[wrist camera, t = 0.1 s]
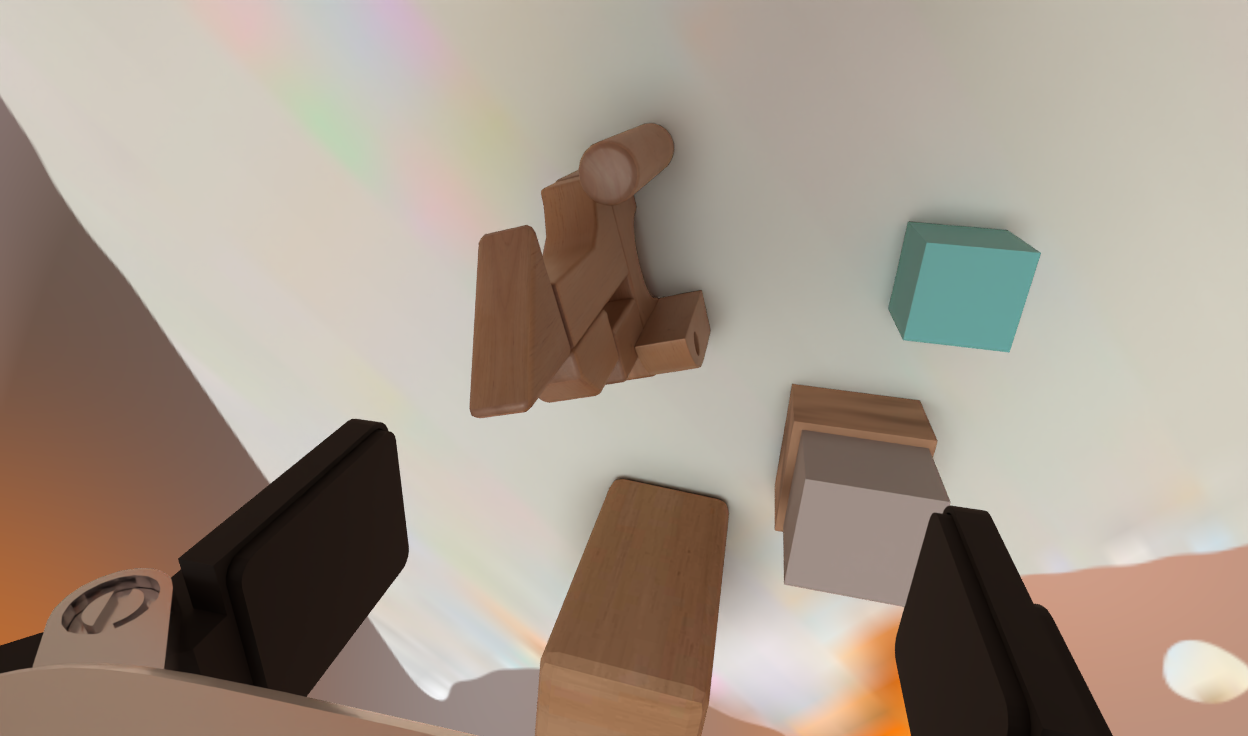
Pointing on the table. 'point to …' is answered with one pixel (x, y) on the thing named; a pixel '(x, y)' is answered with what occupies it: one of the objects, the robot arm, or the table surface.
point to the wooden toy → (579, 291)
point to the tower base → (846, 427)
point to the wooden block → (638, 619)
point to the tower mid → (859, 516)
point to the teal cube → (961, 285)
